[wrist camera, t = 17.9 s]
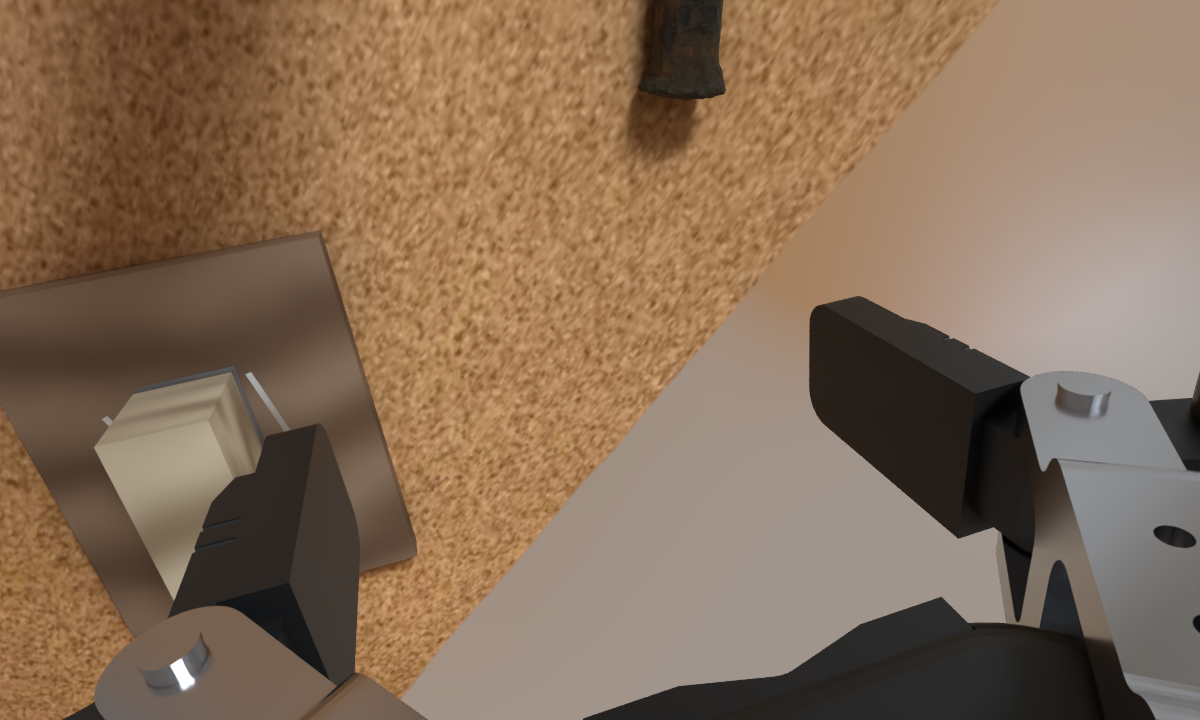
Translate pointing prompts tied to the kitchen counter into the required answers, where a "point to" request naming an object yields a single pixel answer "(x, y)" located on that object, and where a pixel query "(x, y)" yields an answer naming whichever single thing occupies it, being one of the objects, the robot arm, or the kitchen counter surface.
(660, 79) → the hand tool
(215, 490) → the block
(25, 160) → the kitchen counter surface
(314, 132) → the kitchen counter surface
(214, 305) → the walnut board
